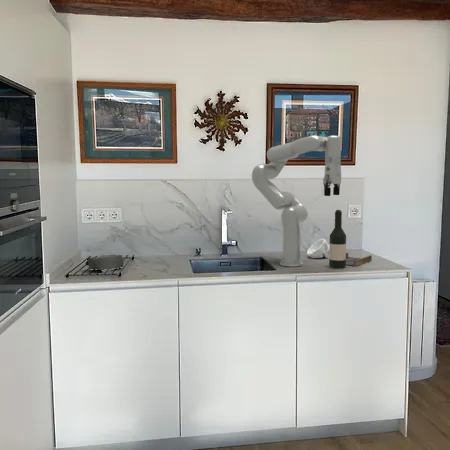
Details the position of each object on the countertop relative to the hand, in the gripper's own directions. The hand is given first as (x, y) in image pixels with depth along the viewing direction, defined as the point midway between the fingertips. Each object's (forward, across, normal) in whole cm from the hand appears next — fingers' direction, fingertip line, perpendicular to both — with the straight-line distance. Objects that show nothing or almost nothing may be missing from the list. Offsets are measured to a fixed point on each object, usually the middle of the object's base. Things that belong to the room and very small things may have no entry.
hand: (331, 195), depth 223 cm
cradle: (+38, +24, -1) cm, 45 cm away
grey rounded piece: (+40, -71, +92) cm, 123 cm away
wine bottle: (+38, +8, 0) cm, 39 cm away
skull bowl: (+38, +26, +19) cm, 50 cm away
